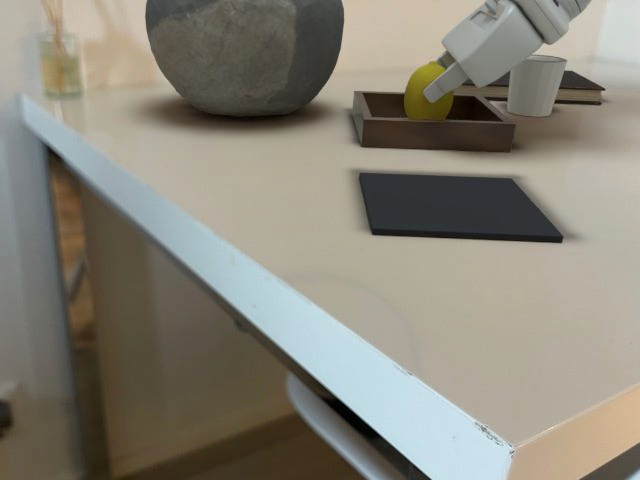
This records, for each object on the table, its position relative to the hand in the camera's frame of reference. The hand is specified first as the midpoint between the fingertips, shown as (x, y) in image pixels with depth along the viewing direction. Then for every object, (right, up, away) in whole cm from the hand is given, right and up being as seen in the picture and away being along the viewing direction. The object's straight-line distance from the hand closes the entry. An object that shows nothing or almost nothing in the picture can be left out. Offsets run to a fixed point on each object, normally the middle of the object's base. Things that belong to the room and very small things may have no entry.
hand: (423, 91), depth 77 cm
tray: (+1, -4, +2) cm, 5 cm away
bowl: (-21, 0, +10) cm, 23 cm away
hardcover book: (+19, +8, +26) cm, 33 cm away
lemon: (+1, -4, +2) cm, 5 cm away
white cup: (+17, +1, +13) cm, 22 cm away
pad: (-3, -16, -21) cm, 26 cm away
